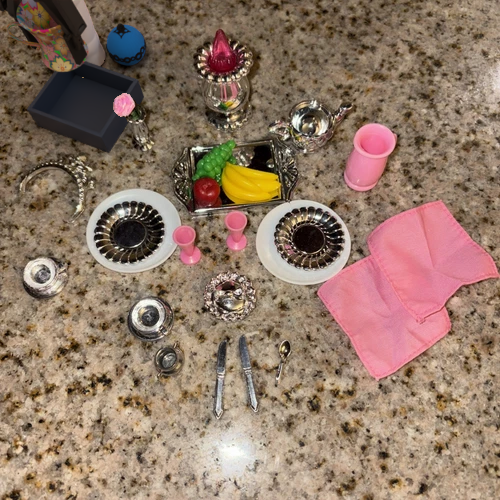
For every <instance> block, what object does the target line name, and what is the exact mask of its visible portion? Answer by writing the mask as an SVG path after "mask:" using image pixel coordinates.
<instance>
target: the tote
mask: <svg viewBox="0 0 500 500" xmlns="http://www.w3.org/2000/svg"><path fill="white" fill-rule="evenodd" d="M82 77H84V78H82ZM122 93H127V94H130V95H131V97H132V98H133V99H134V100H135V101H136V103H137V104H139V106H140V105H141V103H142V102H143V100H144V98H145V96H144V93H143V90H142V85H141V83H140V80H139V79H137V78H134V77H132V76H130V75H126V74H124V73H120V72H117V71H115V70H112V69H109V68H106V67H103V66H98V65H95V64H92V63H89V62H86V61H85V62H84V63H83V64H82V65H81V66H80V67H78V68H76V69H74V70H72V71H67V72H58V71H54V70H53V72H52V74H51V75H50V76H49V78H48V80H47V81H46V82H45V84H44V85H43V87H42V88H41V89H40V90H39V92H38V93H37V95H36V96H35V98H34V99H33V100H32V101H31V103H30V104H29V106H28V107H27V108H26V111H27V112H28V115H30V117H31V118H32V119H33V121H34V122H35V124H36V125H37V126H38V127H39V126H40V128H42V127H43V128H42V129H45V130H47V129H48V131H50V132H52V133H55V134H58V135H60V136H64V137H66V138H68V139H72V140H74V141H76V142H79V143H81V144H83V145H84V144H85V145H87V146H89V147H93V148H95V149H98V150H100V151H103V152H106V153H108V154H110V152H111V151H112V150H113V147H115V144H116V143H117V142H118V139H119V138H120V137H121V135H122V133H123V132H124V130H125V128H126V127H127V125H128V124H129V122H127V120H126V118H125V117H120V116H118V115H117V114H116V113H115V112H114V110H113V102H114V99H115V98H116V97H117V96H119V95H121V94H122Z"/></svg>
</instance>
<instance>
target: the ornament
mask: <svg viewBox="0 0 500 500" xmlns="http://www.w3.org/2000/svg"><path fill="white" fill-rule="evenodd" d="M105 48H106V52H107V53H108V56H109V58H110V59H111V60H112V61H113V62H116V63H118V64H119V65H121V66H127V67H128V66H129V67H130V66H134V65H136V64H138V63H140V61H142V60H143V58H144V56H145V54H146V48H147V42H146V38H145V36H144V35H143V33H142V32H141V31H140V30H139V29H138V28H137V27H134V26H133V25H130V24H123V23H121V22H119V23H118V24H117V25H116V26H115V27H113V28H112V29H111V31H109V33H108V35H107V38H106V44H105Z"/></svg>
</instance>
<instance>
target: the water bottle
mask: <svg viewBox="0 0 500 500" xmlns="http://www.w3.org/2000/svg"><path fill="white" fill-rule="evenodd" d="M72 1H73V3H74V5H75V6H76V8H77V10H78V11H79V13H80V15H81V16H82V18H83V20H84V21H85V23H86V25H87V27H86V29H85V30H84V32H83V33H82V34H81V37H82V39H83V40H84V41H85V42H86V44H87V46H88V57H87V59H86V60H85V61H86V62H89V63H92V64H95V65H98V66H100V67H102V65H103V64H104V62H105V61H106V52H105V49H104V47H103V45H102V43H101V39H100V37H99V34H98V33H97V31H96V29H95V26H94V22H93V19H92V17H91V14H90V11H89V9H88V6H87V4H86V2H85V0H72ZM104 60H105V61H104Z"/></svg>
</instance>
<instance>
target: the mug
mask: <svg viewBox="0 0 500 500" xmlns="http://www.w3.org/2000/svg"><path fill="white" fill-rule="evenodd" d="M17 20H18V22H16V21H12V22H10V23H8V24H7V25H6V32H7V35H9V37H11V39H13V40H15V41H17V42H19V43H20V44H24V45H26V46H30V47H31V46H36V47H37V48H36V51H37V52H38V51H40V50H41V60H42V63H43V64H44V65H45V67H47V68H48V69H50V70H52V71H53V72H54V71H58V72H67V71H72V70H74V69H76V68H78V67H80V66H81V65H82V64H83V63H84V62H85V60H86V59H87V57H88V46H87V44H86V42H85V41H84V40H83V41H84V45H83V46H84V48H85V50H86V52H87V56H86V57H85V59H84V60H83V62H82V63H81V64H80V65H77V64H76V63H75V61H74V59H73V57H72V54H71V52H70V50H69V48H68V46H67V44H66V42H65V40H64V38H63V35H64V32H63V31H62V29H61V26H60V25H57V23H56V22H55V21H54V20H53V19H52V18H51V16H50V15H49V14H48V13H47V12H46V10H45V9H44V8H43V7H42V6H41V5H40V3H38V2H34V1H33V0H22V2H21V3H20V4H19V6H18V8H17ZM18 26H22V27H24V28H25V29H26V30H28V31H29V32H30V33H31V34H32V35H33V36H34V37H35V38H36V39H37V41H38V42H39V43H34V42H29V41H27V40H26V39H23V38H20V37H18V36H16V35H15V34H13V33H12V32H11V31H10V29H11V28H12V27H18Z"/></svg>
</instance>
